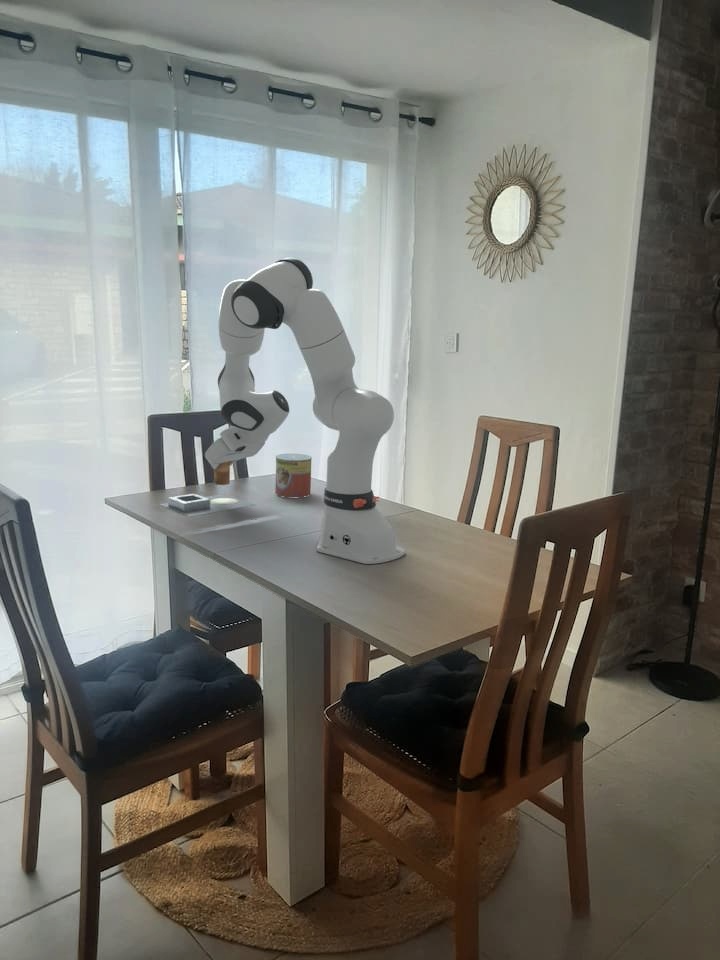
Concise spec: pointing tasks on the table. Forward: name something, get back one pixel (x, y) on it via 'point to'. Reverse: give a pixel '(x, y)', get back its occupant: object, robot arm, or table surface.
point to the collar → (189, 502)
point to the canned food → (293, 475)
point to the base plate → (215, 505)
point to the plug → (222, 474)
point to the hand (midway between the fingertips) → (220, 465)
